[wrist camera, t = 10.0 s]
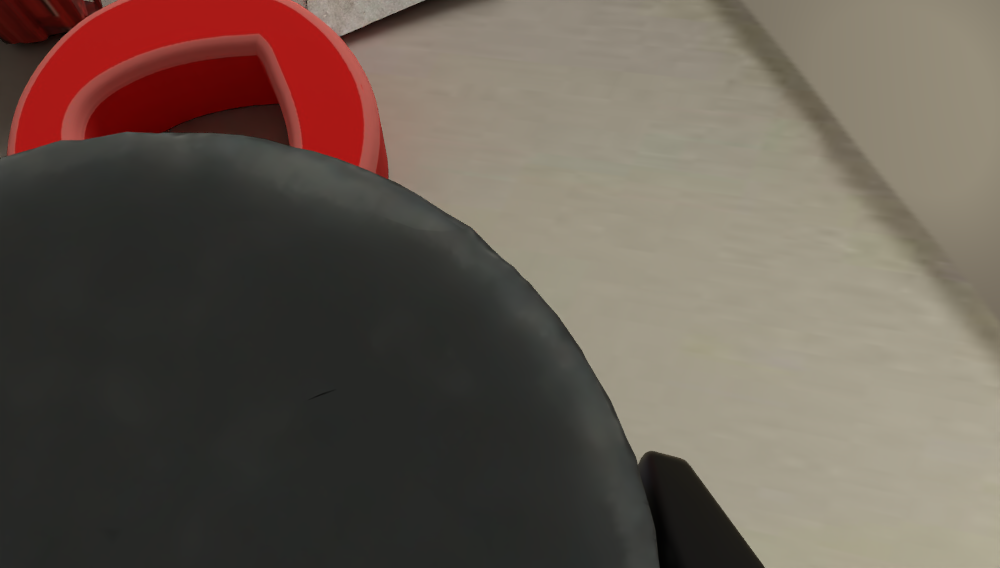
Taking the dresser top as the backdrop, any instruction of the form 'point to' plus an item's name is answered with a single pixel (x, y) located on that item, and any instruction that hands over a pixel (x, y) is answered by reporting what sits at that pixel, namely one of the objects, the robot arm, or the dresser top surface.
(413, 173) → the dresser top surface
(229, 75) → the decorative ornament
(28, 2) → the toy car
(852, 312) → the dresser top surface
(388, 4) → the diorama
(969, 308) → the dresser top surface
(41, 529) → the pill bottle
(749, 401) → the dresser top surface
